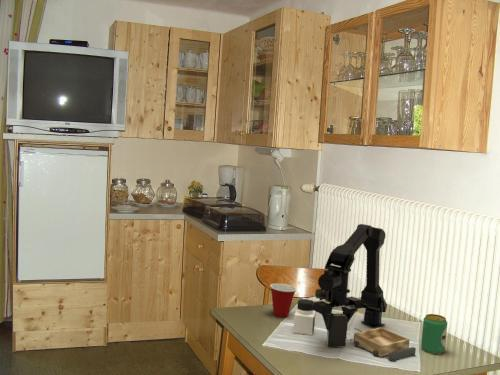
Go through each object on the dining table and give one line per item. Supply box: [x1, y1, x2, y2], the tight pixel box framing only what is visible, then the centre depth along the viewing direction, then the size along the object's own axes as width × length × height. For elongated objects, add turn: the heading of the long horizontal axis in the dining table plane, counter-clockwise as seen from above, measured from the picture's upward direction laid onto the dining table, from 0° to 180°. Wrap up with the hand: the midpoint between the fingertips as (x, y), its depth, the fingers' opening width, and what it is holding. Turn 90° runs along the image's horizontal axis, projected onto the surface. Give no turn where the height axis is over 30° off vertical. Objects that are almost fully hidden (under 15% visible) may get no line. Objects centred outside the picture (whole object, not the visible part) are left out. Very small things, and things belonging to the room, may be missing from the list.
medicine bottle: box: [293, 298, 316, 336], centre depth 206 cm, size 7×7×12 cm
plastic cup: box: [269, 283, 297, 318], centre depth 222 cm, size 11×11×12 cm
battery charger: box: [325, 313, 349, 348], centre depth 193 cm, size 7×4×11 cm, turn 102°
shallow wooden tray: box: [353, 326, 411, 357], centre depth 194 cm, size 16×13×4 cm
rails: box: [346, 327, 417, 363], centre depth 197 cm, size 12×29×2 cm, turn 34°
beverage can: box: [420, 313, 448, 355], centre depth 194 cm, size 8×8×12 cm
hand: (335, 329), depth 193 cm, fingers closed on battery charger, 7 cm apart
